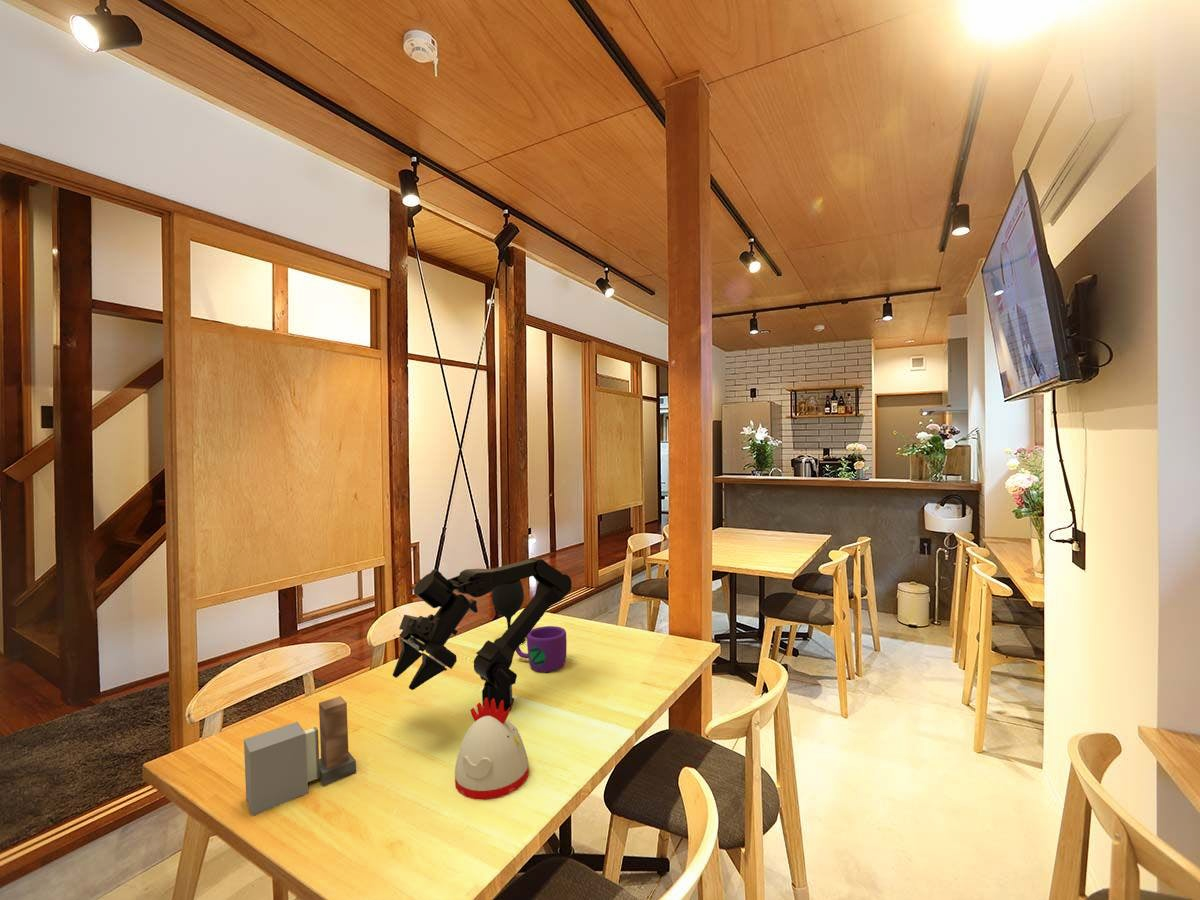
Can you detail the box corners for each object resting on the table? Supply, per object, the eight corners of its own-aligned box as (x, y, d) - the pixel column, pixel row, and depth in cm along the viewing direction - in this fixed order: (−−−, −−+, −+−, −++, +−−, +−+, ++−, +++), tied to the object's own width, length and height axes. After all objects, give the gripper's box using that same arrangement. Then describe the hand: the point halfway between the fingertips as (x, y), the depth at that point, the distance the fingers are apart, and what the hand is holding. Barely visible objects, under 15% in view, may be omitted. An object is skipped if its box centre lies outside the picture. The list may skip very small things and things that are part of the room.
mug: (574, 661, 157) (573, 628, 157) (554, 677, 147) (552, 641, 147) (525, 653, 165) (524, 621, 165) (503, 668, 155) (501, 633, 155)
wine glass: (511, 649, 169) (508, 586, 169) (486, 644, 174) (484, 583, 174) (532, 639, 177) (529, 579, 177) (508, 634, 183) (506, 576, 183)
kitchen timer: (509, 805, 94) (506, 720, 94) (440, 794, 98) (437, 712, 98) (539, 760, 108) (536, 685, 108) (477, 752, 111) (475, 680, 111)
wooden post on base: (346, 760, 110) (344, 692, 110) (356, 772, 106) (353, 702, 106) (314, 773, 106) (311, 702, 106) (323, 786, 102) (320, 713, 102)
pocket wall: (299, 778, 104) (297, 721, 104) (307, 793, 100) (305, 733, 100) (246, 799, 98) (243, 739, 98) (252, 816, 94) (249, 752, 94)
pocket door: (317, 773, 104) (315, 726, 104) (319, 777, 103) (318, 729, 103) (270, 792, 99) (268, 743, 99) (272, 796, 98) (270, 746, 98)
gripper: (405, 592, 126) (359, 653, 118) (439, 607, 112) (389, 677, 104) (439, 617, 131) (396, 677, 124) (475, 634, 117) (430, 703, 110)
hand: (402, 682), depth 115 cm, fingers open, 9 cm apart
